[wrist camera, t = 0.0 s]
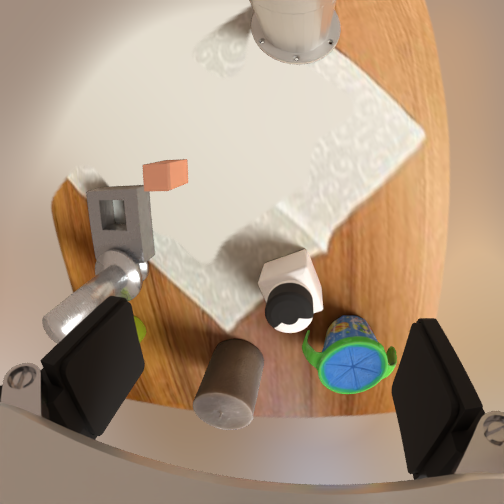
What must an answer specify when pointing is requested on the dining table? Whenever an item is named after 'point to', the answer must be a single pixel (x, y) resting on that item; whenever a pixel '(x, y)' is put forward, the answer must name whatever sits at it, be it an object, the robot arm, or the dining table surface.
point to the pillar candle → (230, 385)
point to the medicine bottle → (290, 292)
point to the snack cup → (350, 357)
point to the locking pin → (165, 175)
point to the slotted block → (109, 256)
